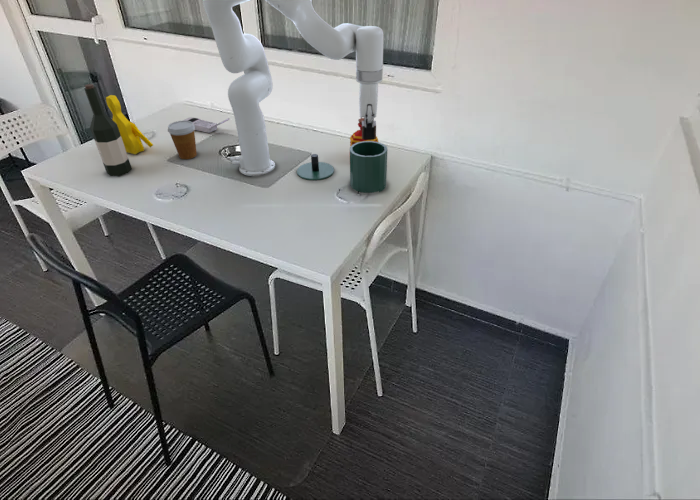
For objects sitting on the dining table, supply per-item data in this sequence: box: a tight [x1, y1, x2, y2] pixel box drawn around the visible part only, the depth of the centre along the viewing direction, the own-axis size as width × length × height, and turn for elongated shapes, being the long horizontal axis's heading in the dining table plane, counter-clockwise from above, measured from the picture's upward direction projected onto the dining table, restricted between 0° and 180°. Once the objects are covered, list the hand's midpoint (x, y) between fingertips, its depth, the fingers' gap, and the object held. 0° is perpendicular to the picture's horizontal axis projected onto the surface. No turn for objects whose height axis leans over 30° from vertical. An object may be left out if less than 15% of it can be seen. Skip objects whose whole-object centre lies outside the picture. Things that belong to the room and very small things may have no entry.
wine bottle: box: [83, 83, 133, 177], centre depth 152 cm, size 8×8×30 cm
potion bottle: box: [349, 117, 379, 147], centre depth 160 cm, size 10×10×15 cm
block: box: [362, 120, 377, 139], centre depth 138 cm, size 4×4×4 cm
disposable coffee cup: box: [167, 120, 198, 160], centre depth 166 cm, size 10×10×12 cm
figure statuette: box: [105, 94, 154, 155], centre depth 167 cm, size 18×8×22 cm, turn 66°
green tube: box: [349, 141, 388, 194], centre depth 146 cm, size 12×12×13 cm
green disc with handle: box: [296, 153, 335, 181], centre depth 155 cm, size 13×13×7 cm
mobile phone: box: [182, 117, 230, 134], centre depth 188 cm, size 6×6×25 cm
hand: (368, 135), depth 139 cm, fingers closed on block, 4 cm apart
